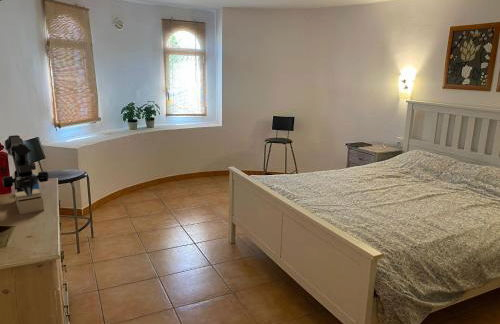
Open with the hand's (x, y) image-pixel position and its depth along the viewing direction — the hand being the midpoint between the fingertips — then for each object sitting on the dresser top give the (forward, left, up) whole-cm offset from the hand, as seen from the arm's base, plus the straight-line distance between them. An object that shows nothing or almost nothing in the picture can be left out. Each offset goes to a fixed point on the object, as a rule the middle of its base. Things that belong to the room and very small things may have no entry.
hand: (29, 194), depth 177 cm
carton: (-4, -4, -9) cm, 10 cm away
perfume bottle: (-30, -24, -9) cm, 39 cm away
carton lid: (-4, -4, -2) cm, 6 cm away
